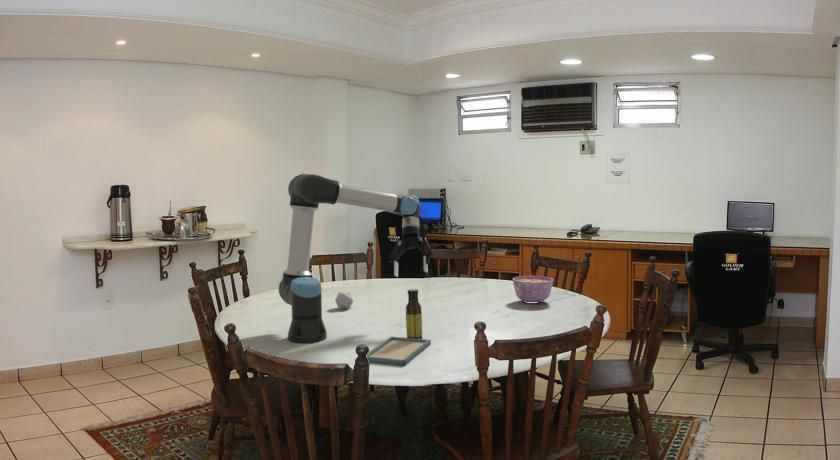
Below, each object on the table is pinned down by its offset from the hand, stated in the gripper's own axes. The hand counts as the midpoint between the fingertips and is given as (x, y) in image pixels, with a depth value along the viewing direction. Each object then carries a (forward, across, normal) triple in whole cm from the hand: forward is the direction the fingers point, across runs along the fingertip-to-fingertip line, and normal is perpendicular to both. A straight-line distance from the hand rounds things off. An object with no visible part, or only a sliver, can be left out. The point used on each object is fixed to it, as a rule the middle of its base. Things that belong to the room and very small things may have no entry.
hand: (410, 273), depth 274 cm
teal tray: (+41, -5, +24) cm, 47 cm away
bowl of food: (-5, -37, -68) cm, 78 cm away
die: (+2, +45, -25) cm, 51 cm away
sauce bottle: (+32, -5, +8) cm, 33 cm away
